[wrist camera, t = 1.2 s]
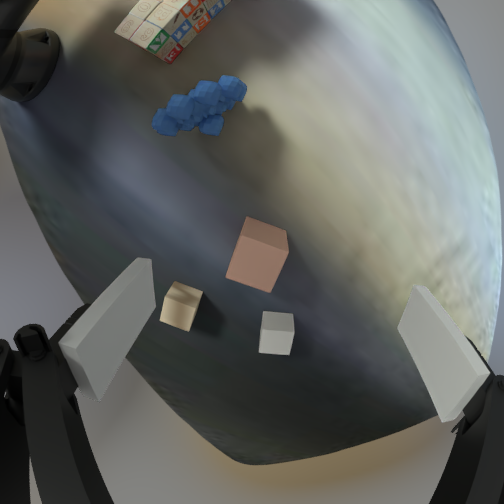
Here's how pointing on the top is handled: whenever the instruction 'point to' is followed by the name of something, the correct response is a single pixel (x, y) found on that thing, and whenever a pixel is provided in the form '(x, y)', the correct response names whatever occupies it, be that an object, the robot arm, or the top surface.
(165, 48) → the stack of blocks
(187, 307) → the maple block
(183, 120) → the grapes
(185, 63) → the top surface
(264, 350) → the off-white plastic block
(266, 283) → the terracotta block
